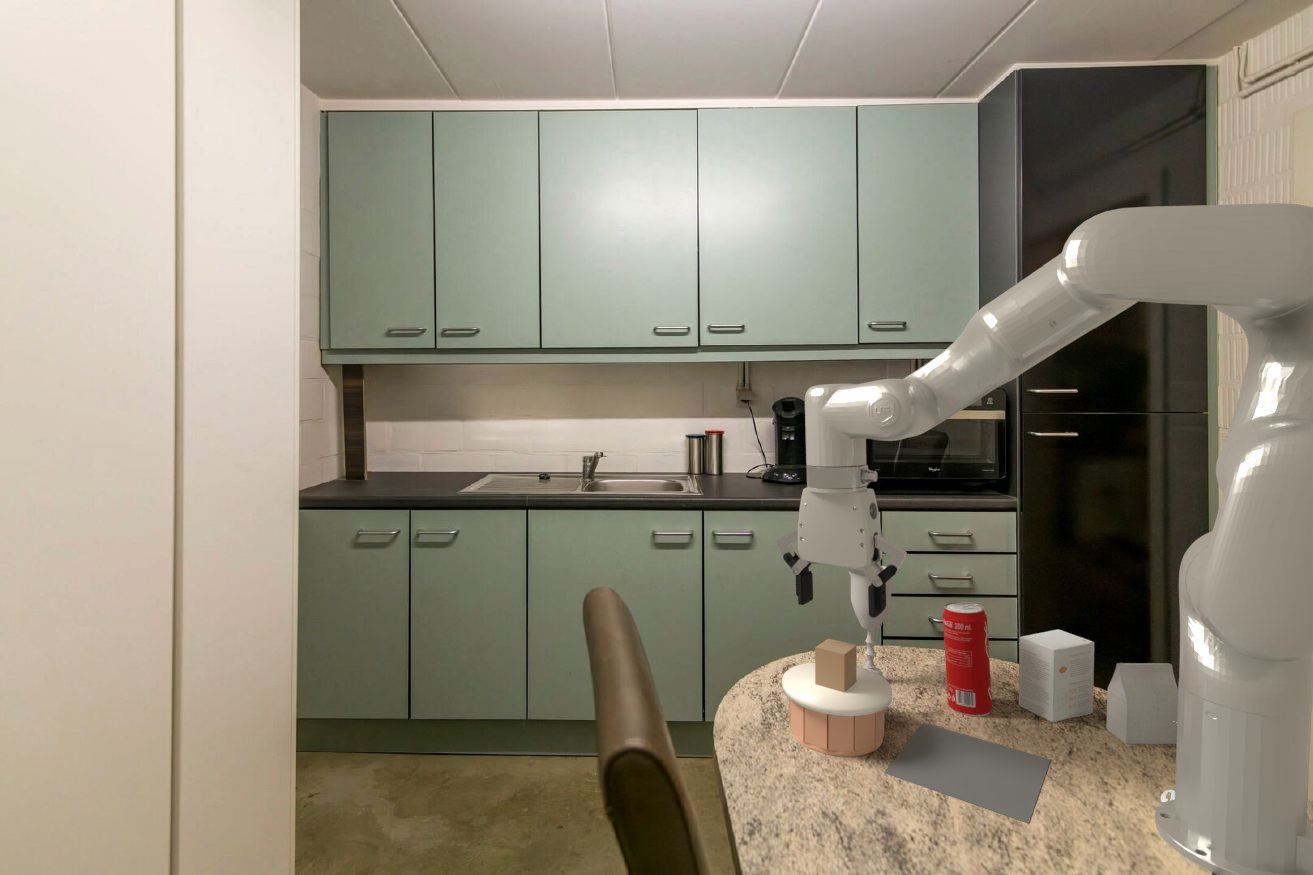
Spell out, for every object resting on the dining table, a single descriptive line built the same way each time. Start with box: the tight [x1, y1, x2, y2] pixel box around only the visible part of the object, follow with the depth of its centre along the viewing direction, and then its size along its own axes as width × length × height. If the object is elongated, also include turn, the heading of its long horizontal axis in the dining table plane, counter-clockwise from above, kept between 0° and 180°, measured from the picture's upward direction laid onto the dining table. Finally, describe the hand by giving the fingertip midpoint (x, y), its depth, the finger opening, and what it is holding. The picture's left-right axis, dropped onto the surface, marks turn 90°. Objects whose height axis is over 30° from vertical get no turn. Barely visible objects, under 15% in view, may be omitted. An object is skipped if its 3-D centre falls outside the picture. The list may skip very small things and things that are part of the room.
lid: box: [781, 638, 893, 716], centre depth 85 cm, size 14×14×6 cm
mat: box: [884, 722, 1051, 824], centre depth 77 cm, size 15×15×1 cm
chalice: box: [847, 565, 892, 678], centre depth 101 cm, size 7×7×18 cm
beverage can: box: [942, 601, 993, 717], centre depth 92 cm, size 6×6×15 cm
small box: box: [1018, 629, 1095, 723], centre depth 91 cm, size 8×6×10 cm
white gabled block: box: [1106, 662, 1178, 745], centre depth 83 cm, size 4×7×10 cm, turn 89°
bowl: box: [788, 698, 885, 758], centre depth 86 cm, size 12×12×6 cm
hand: (839, 608), depth 85 cm, fingers open, 9 cm apart
